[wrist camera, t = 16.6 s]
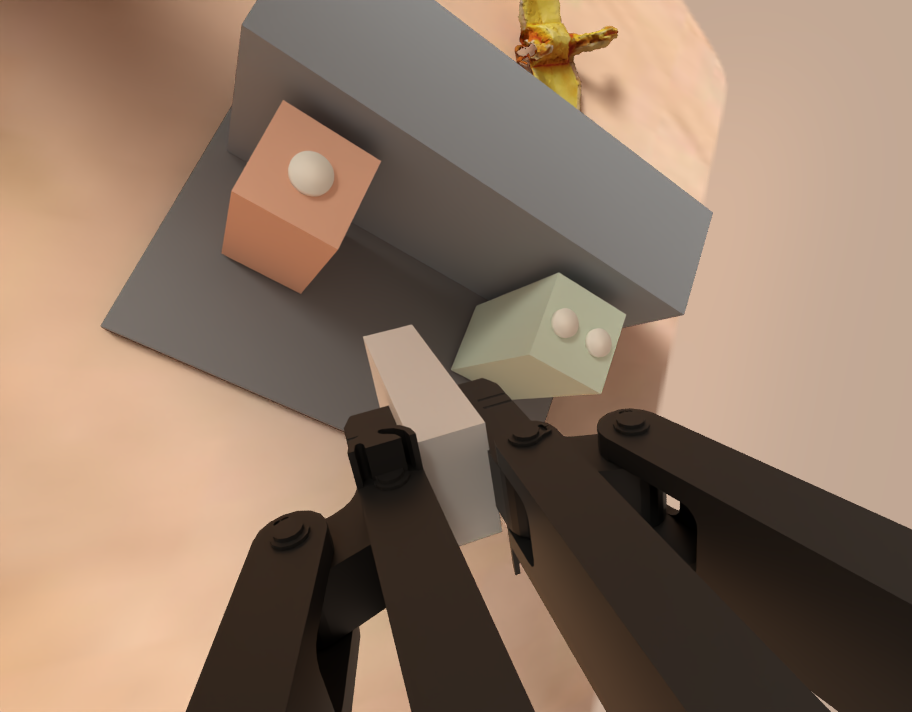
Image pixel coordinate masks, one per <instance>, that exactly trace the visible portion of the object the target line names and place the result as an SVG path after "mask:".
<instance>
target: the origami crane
mask: <svg viewBox="0 0 912 712" xmlns="http://www.w3.org/2000/svg"><path fill="white" fill-rule="evenodd" d="M518 18H519V21H520V24H521V26H520V27H521V35H520V42H521V44H522V45H517V46H516V47H515V54H516V60H517V64H518V63H519V62H521V63H524V64H526V65H527V63H526V62H525V61H522V60H523V59H524V58H526V57H528V58H529V62H530V68H531V70H532V74H533V76H535V77H536V78H537V79H538V80H540V81H541V82H542V83H544V84H545V85H546V86H548V87H549V88H550V89H552V90H553V91H554V92H556V93H557V94H558V95H559V96H561V97H562V98H563V99H565V100H566V101H567V102H569V103H570V104H571V105H573V106H574V107H575V108H576V109H578V110H579V111H580V103H581V102H580V101H581V81H580V79H579V77H578V73H577V72H576V68H575V63H574V62H573V60H574V56H575V55H579V54H580V53H581V52H588V51H589V52H590V51H593V50H595V49H601V48H604V47H607V46H608V45H609V44H610V42H611V41H612V40H613V39H614V38H617V36H618V35H617V33H618V31H617V29H616V28H615V27H613V26H606V27H604V28H603V29H601V30H600V31H596V32H592V33H589V34H587V33H585V34H583V35H578V34H574V33H571V34H569V33H568V32H567V30H566V28H565V26H564V25H563V24H564V23H563V24H562V23H561V16H560V3H559V0H521V1H520V5H519V16H518ZM532 43H533V45H535V47H536V48H537V50H535V54H534V55H533V56H532V57H530V55H529V53H528V54H527V56H524V57H523V56H521V57H519V58H518V54H517V53H516V52H517V51H518V50H520V49H521V47H522V49H523V48H524V47H529V46H530V45H529V44H532ZM523 46H524V47H523ZM525 49H526V48H525Z"/></svg>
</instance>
